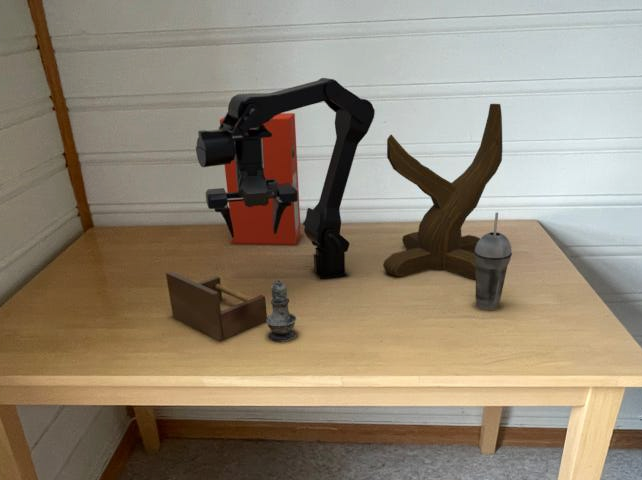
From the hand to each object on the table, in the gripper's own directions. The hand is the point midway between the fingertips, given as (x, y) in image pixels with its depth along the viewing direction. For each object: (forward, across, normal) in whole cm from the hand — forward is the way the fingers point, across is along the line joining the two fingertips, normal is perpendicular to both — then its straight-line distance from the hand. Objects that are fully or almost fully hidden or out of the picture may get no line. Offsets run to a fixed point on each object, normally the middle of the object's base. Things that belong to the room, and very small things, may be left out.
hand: (253, 235), depth 138 cm
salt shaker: (+13, +1, -23) cm, 27 cm away
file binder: (+13, +8, +34) cm, 37 cm away
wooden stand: (+12, +44, +3) cm, 46 cm away
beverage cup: (+12, +44, -23) cm, 52 cm away
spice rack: (+13, -10, -12) cm, 21 cm away
